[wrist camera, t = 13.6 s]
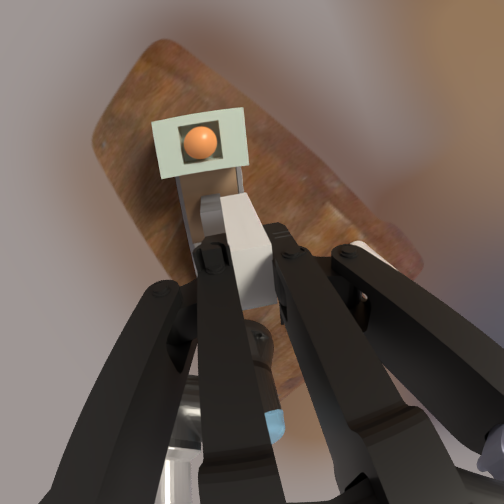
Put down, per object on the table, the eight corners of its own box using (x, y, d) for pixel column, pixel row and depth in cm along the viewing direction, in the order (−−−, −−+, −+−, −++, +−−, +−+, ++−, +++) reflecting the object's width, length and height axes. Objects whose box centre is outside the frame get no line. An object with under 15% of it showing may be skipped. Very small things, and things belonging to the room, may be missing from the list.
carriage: (240, 226, 40) (249, 258, 33) (193, 234, 40) (191, 267, 32) (232, 159, 35) (240, 175, 28) (180, 167, 35) (172, 186, 27)
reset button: (218, 152, 28) (218, 156, 26) (188, 157, 27) (186, 161, 25) (214, 123, 26) (214, 124, 24) (183, 128, 26) (181, 130, 24)
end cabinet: (238, 149, 36) (249, 164, 27) (174, 159, 36) (161, 179, 26) (233, 108, 33) (243, 107, 24) (167, 118, 33) (151, 122, 23)
